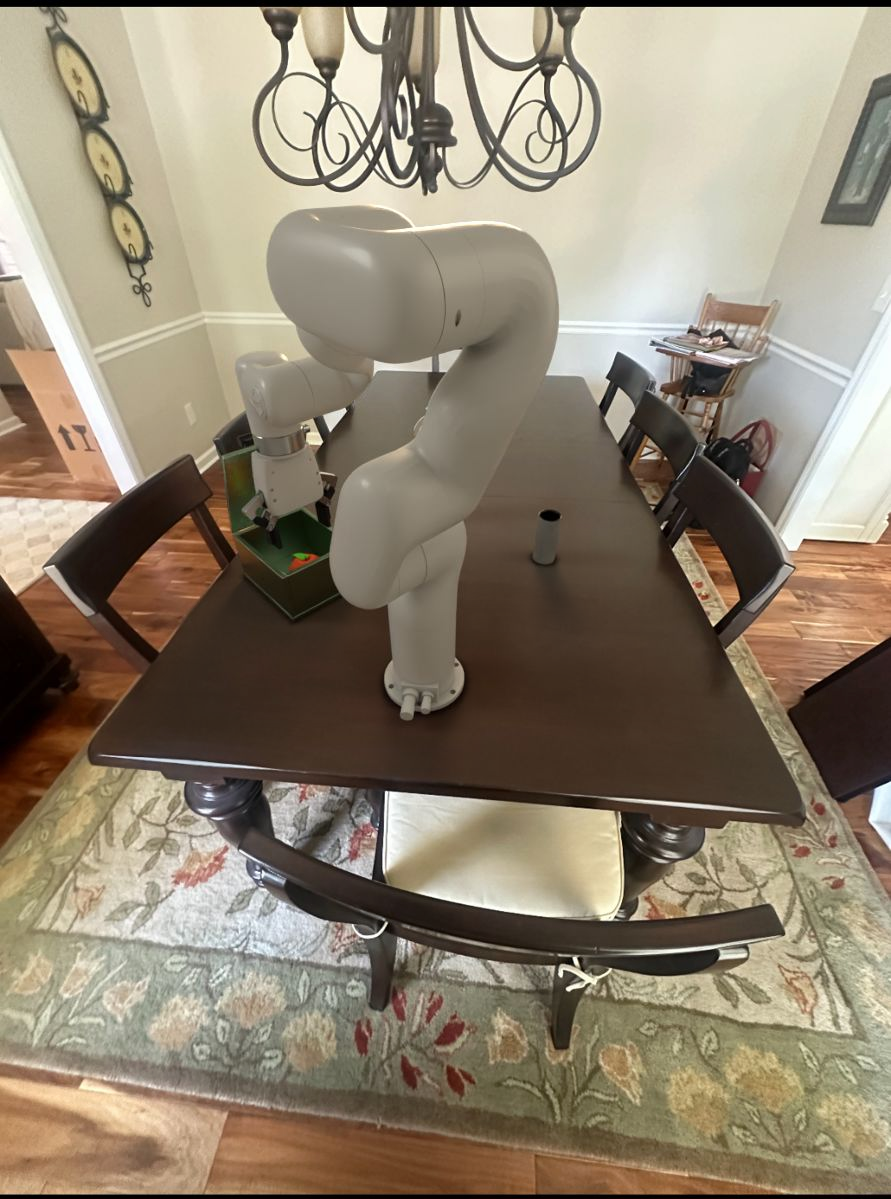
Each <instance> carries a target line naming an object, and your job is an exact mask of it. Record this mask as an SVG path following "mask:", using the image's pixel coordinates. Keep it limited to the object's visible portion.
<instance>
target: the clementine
mask: <svg viewBox="0 0 891 1199" xmlns="http://www.w3.org/2000/svg"><path fill="white" fill-rule="evenodd" d="M292 556H296V557H297V558H295V559H294V561H293V562H292V563H291V565H290V569H289V572H290V571H292V570H294V569H296V568H298V567H301V566H303V565H305V564H307V563H309V562H311V561H313V560H315V559H317V558H319V557H318V556H316V555H314V554H303V553H296V554H294V555H292ZM292 556H291V559H292Z"/></svg>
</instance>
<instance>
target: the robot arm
mask: <svg viewBox="0 0 891 1199" xmlns="http://www.w3.org/2000/svg"><path fill="white" fill-rule="evenodd" d="M266 250H267V251H266V258H265V259H266V260H265V262H266V263H265V267H266V274H267V275H266V276H267V280H268V284H269V288H270V291H271V294H272V295H273V298H274V301H275V302H276V304H277V306H278V308H279V310H280V311H281V313H283V314H284V316H285V317H286V318H287V319H288V320H289V321H290V322H291V323H292V324H294V325H295V330H296V334H297V336H298V339H299V341H300V343H301V346H302V347H303V348H304V349H305V351H306V352H307V353H308V354H309V356H307V357H302V358H298V359H295V360H290V361H289V359H288V357H287V356H286V355H285V354H284V353H282V352H280V351H277V350H268V349H265V350H254V351H249V352H246V353H243V354H242V355H241V354H240V355H239V356H238V357H237V358H236V360H235V362H234V372H235V376H236V379H237V383H238V387H239V391H240V395H241V398H242V402H243V407H244V410H245V414H246V418H247V421H248V425H249V428H250V433H252V437H253V440H254V444H253V445H255V448H256V451H254V452H252V472H253V479H254V485H255V490H256V495H255V496H254V497H253V498H252V499H251V500H250V501H249V502H248V503H247V504H246V505H245V506H244V507H243V508H242V513H243V514H244V515H245V516H246V517H248V518H249V519H250V520H251V521H252V522H253V523H255V525H258V526H260V527H263V528H264V530H265V534H266V537H267V541H268V543H269V544H270V545H274V546H275V547H276V548H277V549H279V550H280V549H282V547H283V545H282V542H281V538H280V534H279V530H278V528H276V527H275V525H276V522H277V520H278V518H279V516H282V515H284V514H287V513H289V512H292V511H294V510H297V509H299V508H302V507H304V508H305V507H307V506H309V505H311V504H314V507H315V513H316V516H317V518H318V522H319V523H321V524H322V525H324V526H325V527H328V528H329V527H332V523H331V519H332V517H331V511H330V506H331V504H332V498H333V497H334V495H335V493H336V487H337V483H338V479H339V478H338V475H335V474H334V473H332V472H331V473H330V472H326V471H325V472H324V471H320V469H319V468H320V467H319V465H318V462H317V460H316V456H315V453H314V452H313V449H312V446H311V444H310V443H309V442H308V441H307V436H306V437H305V434H308V433H311V427H310V425H309V424H308V423H305V422H308V421H310V420H312V419H315V418H319V417H322V416H325V415H329V414H331V413H334V412H337V411H341V410H344V409H345V408H348V407H349V406H350V405H352V404H353V403H354V402H355V401H356V400H358V398H360V396H361V395H362V394H363V393H364V392H365V390H366V389H367V388H368V387H369V386H370V384H371V383H372V381H373V378H374V373H375V372H374V371H375V362H379V363H384V364H390V365H391V364H392V365H397V364H401V365H402V364H409V363H410V364H411V363H414V362H418V361H419V362H420V361H422V360H425V359H428V358H432V357H435V356H439V355H443V354H446V353H449V352H453V351H457V350H459V349H461V350H460V352H459V354H458V356H457V357H456V359H455V360H454V361H453V363H452V364H451V366H450V367H449V368H448V369H447V371H446V372H445V374H444V375H443V376H442V378H440V380H439V381H438V384H437V385H436V387H435V389H434V390H433V393H432V395H431V397H430V399H429V401H428V404H427V406H426V407H427V411H425V412H426V413H425V415H424V416H425V418H424V420H423V423H422V426H421V428H420V430H419V432H418V434H417V435H416V437H415V438H413V439H412V440H411V441H409V442H408V443H407V444H405V445H403V446H401V447H399V448H397V449H395V450H393V451H390V452H388V453H386V454H383V455H381V456H378V457H375V458H373V459H371V460H369V461H367V462H365V463H363V464H361V465H359V466H358V467H356V468H355V469H354V470H353V471H352V472H351V473H350V474H349V476H347V478H346V480H345V481H344V482H343V485H342V486H341V490H340V493H339V496H338V500H337V506H336V511H335V516H334V523H333V527H332V528H333V533H332V539H331V545H330V554H329V559H330V569H331V574H332V577H333V580H334V583H335V585H336V587H337V589H338V591H339V592H340V594H341V595H342V596H341V597H342V598H343V599H344V600H346V602H348V603H349V604H350V605H352V606H354V607H356V608H358V609H362V610H376V609H380V608H382V607H384V606H386V605H387V614H388V616H387V617H388V626H389V636H390V637H389V638H390V648H391V660H390V662H389V663H388V665H387V666H386V668H385V671H384V675H383V676H384V677H383V678H384V679H383V682H384V688H385V690H386V693H387V695H388V696H389V697H390V699H391V700H392V701H393V702H394V703H395V704H397V705H398V706H400V707H401V708H400V712H399V717H400V719H402V720H404V721H407V722H408V721H412V720H413V719H414V714H415V712H419V713H421V714H422V715H429V714H430V713H431V712H433V711H437V710H441V709H443V708H445V707H447V706H449V705H450V704H452V703H454V702H455V701H456V700H457V699H458V698H459V696H460V694H461V693H462V692H463V689H464V686H465V685H464V684H465V672H464V668H463V665H462V664H461V662H460V661H459V660H458V658H457V657H456V640H457V639H456V638H457V635H456V634H457V633H456V632H457V608H458V605H457V604H458V589H459V588H458V587H459V580H460V575H461V571H462V567H463V563H464V560H465V556H466V552H467V544H468V542H467V541H468V537H467V529H466V525H465V522H464V521H465V520H466V519H467V518H468V517H469V516H471V514H472V513H474V511H476V509H477V507H478V505H479V504H480V502H481V500H482V499H483V496H484V494H485V492H486V490H487V488H488V487H489V485H490V482H491V480H492V479H493V477H494V475H495V473H496V471H497V469H498V467H499V465H500V464H501V462H502V459H503V458H504V456H505V454H506V452H507V450H508V447H509V445H510V443H511V441H512V439H513V437H514V436H515V433H516V432H517V429H518V428H519V426H520V424H521V422H522V420H523V419H524V416H526V414H527V412H528V411H529V408H530V407H531V405H532V403H533V401H534V400H535V398H536V396H537V394H538V392H539V390H540V388H541V386H542V384H543V382H544V380H545V377H546V375H547V373H548V371H549V368H550V365H551V363H552V360H553V356H554V353H555V350H556V345H557V341H558V334H559V327H560V302H559V292H558V286H557V282H556V277H555V274H554V270H553V268H552V265H551V262H550V260H549V257H548V256H547V254H546V252H545V250H544V249H543V248H542V246H541V244H540V243H539V242H538V241H537V240H536V239H535V238H534V237H533V236H532V235H531V234H529V233H528V232H527V231H525V230H523V229H522V228H520V227H517V226H514V225H512V224H510V223H509V224H508V223H504V222H498V221H488V220H487V221H486V220H485V221H484V220H483V221H482V220H480V221H467V222H466V221H465V222H455V223H447V224H439V225H430V226H429V225H428V226H419V227H416V226H415V225H414V224H413V222H412V221H411V220H410V219H409V218H408V217H406V216H405V214H403V213H401V212H399V211H397V210H395V209H393V208H390V207H388V206H383V205H378V204H377V205H376V204H357V205H344V206H327V207H313V208H304V209H303V208H302V209H296V210H294V211H291V212H289V213H287V214H286V215H285V216H283V217H282V218H281V219H280V220H279V221H278V222H277V224H276V225H275V226H274V228H273V230H272V232H271V234H270V237H269V240H268V244H267V248H266ZM303 423H305V424H303ZM323 482H325V484H326V485H323ZM259 507H261V508H262V509H263V508H265V509H264V511H263V513H262V515H261V517H259V516H257V515H256V513H255V512H256V510H257V509H258V508H259Z"/></svg>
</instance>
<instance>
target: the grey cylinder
mask: <svg viewBox="0 0 891 1199" xmlns="http://www.w3.org/2000/svg"><path fill="white" fill-rule="evenodd" d="M562 521H563V515H562V514H561V512H560V511H557V510H555V509H548V508H547V509H543V510H541V511H539V513H538V515H537V521H536V522H537V523H536V528H535V535H534V536H535V537H534V544H533V550H532V559H533V561H534V562H535V563H537V564H540V565H550V564H552V563H553V562H554V561H555V559H556V553H557V548H558V543H559V538H560V533H561V527H562Z"/></svg>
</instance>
